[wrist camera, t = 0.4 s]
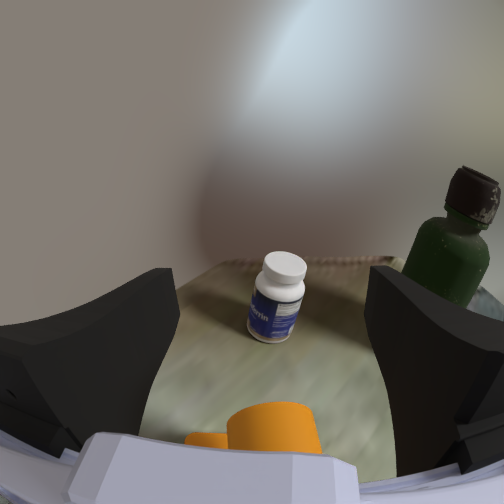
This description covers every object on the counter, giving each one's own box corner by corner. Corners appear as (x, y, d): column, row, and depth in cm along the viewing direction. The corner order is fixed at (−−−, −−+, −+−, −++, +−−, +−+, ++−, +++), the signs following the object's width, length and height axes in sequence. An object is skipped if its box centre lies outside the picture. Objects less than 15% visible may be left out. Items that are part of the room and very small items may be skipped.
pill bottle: (238, 318, 39) (250, 250, 34) (277, 310, 42) (294, 246, 37) (258, 350, 35) (276, 280, 30) (299, 339, 38) (322, 273, 33)
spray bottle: (361, 332, 40) (430, 153, 28) (397, 309, 46) (455, 160, 34) (417, 377, 33) (514, 193, 21) (445, 345, 39) (519, 192, 27)
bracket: (302, 443, 25) (351, 365, 19) (316, 510, 19) (386, 458, 13) (185, 444, 23) (184, 363, 17) (184, 516, 17) (178, 476, 11)
